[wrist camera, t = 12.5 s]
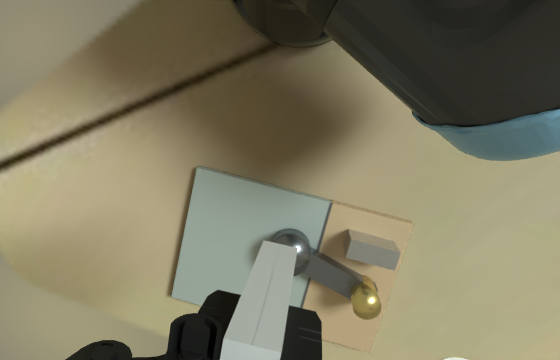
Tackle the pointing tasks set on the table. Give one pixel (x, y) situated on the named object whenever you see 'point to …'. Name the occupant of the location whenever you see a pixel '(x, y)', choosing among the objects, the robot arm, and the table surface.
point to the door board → (262, 227)
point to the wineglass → (455, 359)
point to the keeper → (371, 249)
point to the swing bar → (332, 274)
